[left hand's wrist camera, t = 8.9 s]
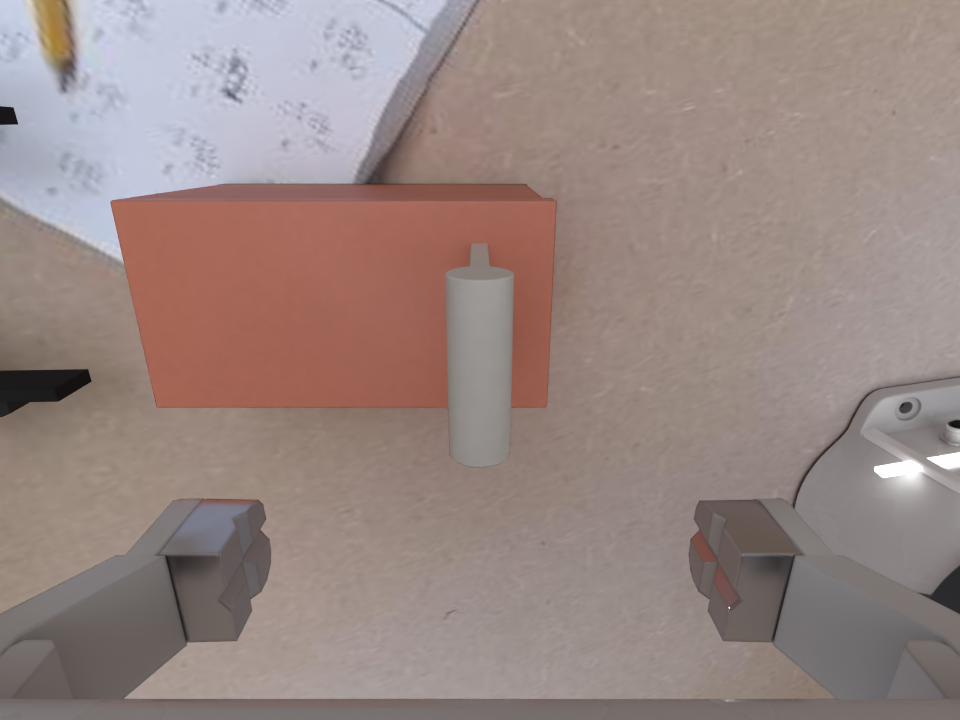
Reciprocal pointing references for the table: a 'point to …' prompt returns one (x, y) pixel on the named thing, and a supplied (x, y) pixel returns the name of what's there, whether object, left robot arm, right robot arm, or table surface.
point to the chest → (354, 191)
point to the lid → (347, 305)
